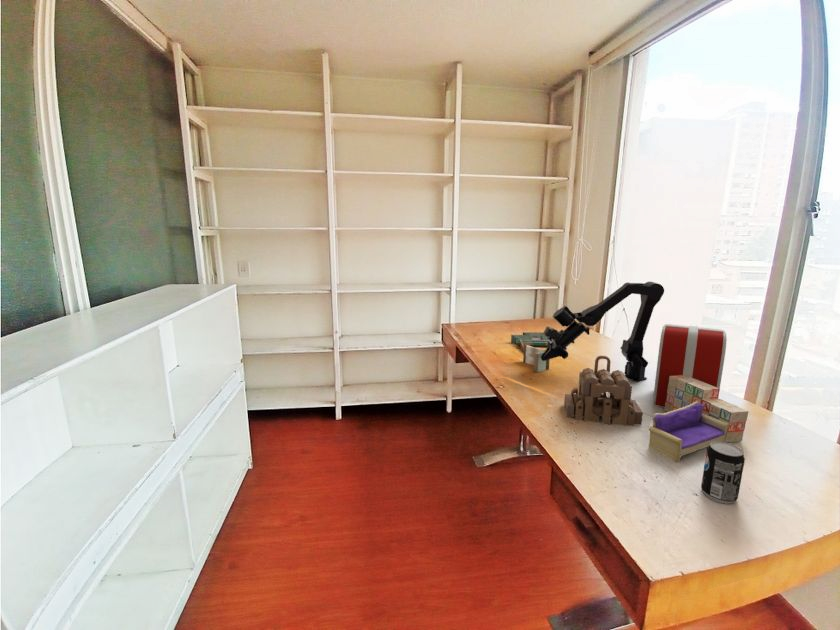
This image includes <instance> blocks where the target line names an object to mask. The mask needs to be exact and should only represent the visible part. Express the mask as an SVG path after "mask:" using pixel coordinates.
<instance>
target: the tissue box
mask: <svg viewBox="0 0 840 630" xmlns="http://www.w3.org/2000/svg"><path fill="white" fill-rule="evenodd" d="M727 342H728V341H727V333H726V330H724V329H717V328H709V327H698V326H696V325H695V326H694V325H681V324H680V325H678V324H670V323H665V324H664V325H663V326H662V330H661V333H660V339H659V347H658V353H657V354H658V355H657V362H656V371H655V379H654V380H655V382H654V388H653V397H652V405H653V406H656V407H662V408H665V403H666V398H667V390H668V384H669V377H670V376H676V375H677V376H678V375H682V376H687V377H692V378H694V379H696V380H699V381H701V382H704V383H707V384H709V385H712V386H714V387H717V388H719V389H720V390H721V383H722V378H723V377H722V376H723V371H724V365H725V364H724V363H725V358H726V350H727ZM719 397H720V395H719V396H718V398H719Z"/></svg>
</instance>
